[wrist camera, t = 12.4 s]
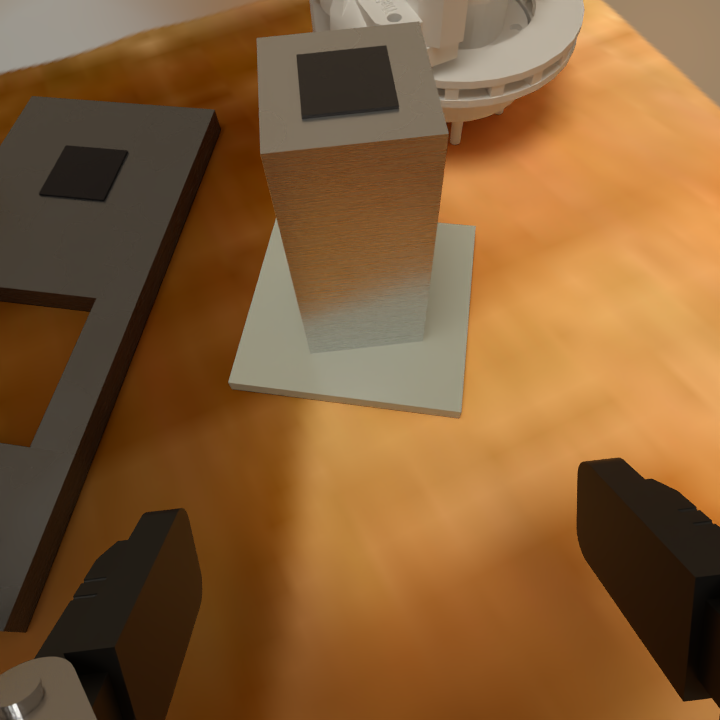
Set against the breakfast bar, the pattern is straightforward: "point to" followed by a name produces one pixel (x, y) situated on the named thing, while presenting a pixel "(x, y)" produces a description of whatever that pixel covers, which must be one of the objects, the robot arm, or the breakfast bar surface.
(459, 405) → the tile
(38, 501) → the grey metal plate
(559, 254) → the breakfast bar surface
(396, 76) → the block
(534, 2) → the mechanical part
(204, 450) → the breakfast bar surface
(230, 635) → the breakfast bar surface
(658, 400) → the breakfast bar surface
